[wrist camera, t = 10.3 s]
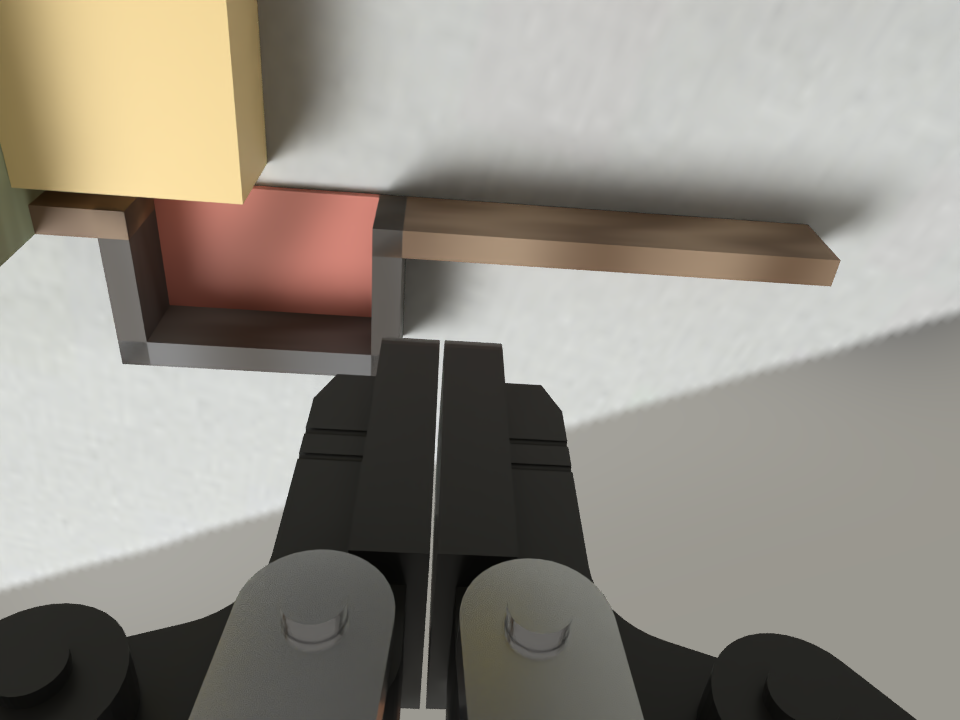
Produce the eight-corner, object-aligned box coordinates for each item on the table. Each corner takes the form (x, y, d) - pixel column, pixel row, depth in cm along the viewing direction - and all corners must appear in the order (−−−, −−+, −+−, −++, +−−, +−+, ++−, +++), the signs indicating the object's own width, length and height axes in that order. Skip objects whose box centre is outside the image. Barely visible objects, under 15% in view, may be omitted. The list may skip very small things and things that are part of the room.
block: (255, -61, 24) (222, -45, 21) (268, 160, 28) (242, 204, 25) (19, -83, 24) (-54, -70, 20) (65, 145, 28) (11, 187, 24)
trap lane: (989, -312, 21) (1193, -370, 15) (763, 358, 33) (828, 470, 27) (-105, -443, 19) (-351, -565, 13) (71, 317, 31) (-19, 427, 25)
